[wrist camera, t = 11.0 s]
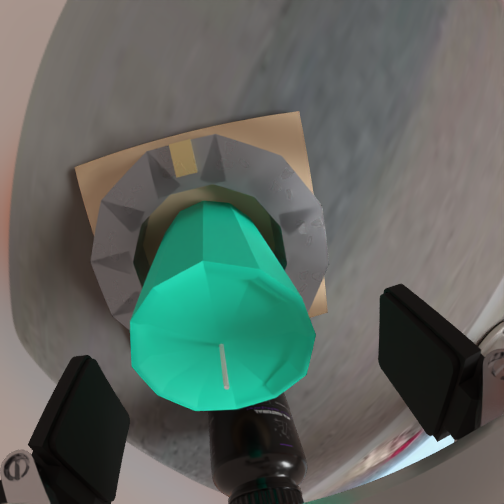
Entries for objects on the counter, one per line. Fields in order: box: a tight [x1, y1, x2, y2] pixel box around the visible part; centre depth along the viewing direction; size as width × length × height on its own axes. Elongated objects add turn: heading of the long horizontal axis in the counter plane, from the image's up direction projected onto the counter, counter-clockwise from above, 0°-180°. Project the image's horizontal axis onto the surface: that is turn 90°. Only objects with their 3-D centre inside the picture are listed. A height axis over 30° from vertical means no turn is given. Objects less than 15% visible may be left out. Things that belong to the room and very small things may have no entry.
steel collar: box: [90, 134, 329, 330], centre depth 17 cm, size 13×13×4 cm
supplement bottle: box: [208, 392, 307, 504], centre depth 19 cm, size 7×7×12 cm
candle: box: [130, 201, 316, 411], centre depth 13 cm, size 6×6×12 cm
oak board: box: [75, 111, 328, 318], centre depth 19 cm, size 14×14×1 cm
